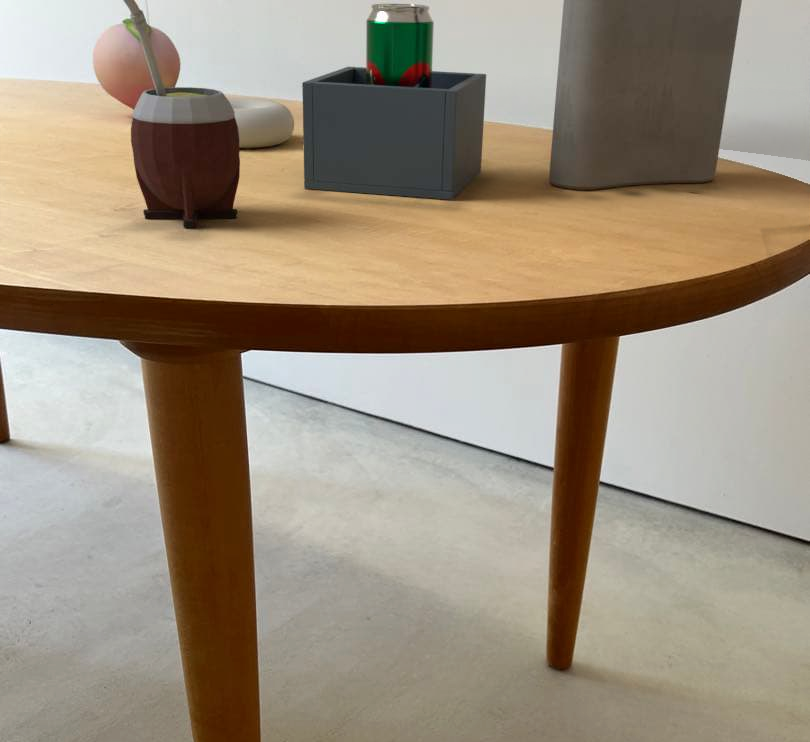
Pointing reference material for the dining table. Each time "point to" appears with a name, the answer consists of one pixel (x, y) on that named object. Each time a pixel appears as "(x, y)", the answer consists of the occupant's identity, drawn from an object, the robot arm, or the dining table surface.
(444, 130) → the bin
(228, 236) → the dining table surface
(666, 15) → the flask
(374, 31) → the soda can
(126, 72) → the decorative fruit
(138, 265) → the dining table surface
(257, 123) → the donut
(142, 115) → the mate gourd
